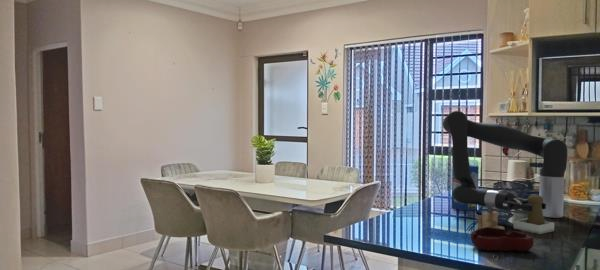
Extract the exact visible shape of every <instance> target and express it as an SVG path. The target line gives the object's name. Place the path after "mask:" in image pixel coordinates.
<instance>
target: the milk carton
mask: <svg viewBox="0 0 600 270" xmlns="http://www.w3.org/2000/svg"><path fill="white" fill-rule="evenodd" d="M479 168H480V167H479V165H471V164H470V171H471V176H472V179H473V181H474V184H475V186H476V189H479ZM458 186H461V184H460V182H459V181H458V180H456V179H455V178H454V172H453V165H452V173H451V204H450V206H451V207H450V208H452V209H457V210H460V211H464V210H465V212H471V211H470V210H476V211H478V205H476V204H466V203H460V202H457V201H456V200H455V199H454V198H453V190H454V189H455V188H456V187H458Z"/></svg>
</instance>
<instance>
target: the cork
mask: <svg viewBox="0 0 600 270" xmlns="http://www.w3.org/2000/svg"><path fill="white" fill-rule="evenodd" d="M527 199H528V203H529V205H533V211H528V212H527V218H528V219H527V223H530V224H535V225H543V224H544V221H545V216H543V211H542V203H543V198H542V197H541V196H539V194H538V195H537V194H532V195H529V196H528V197H527Z"/></svg>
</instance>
